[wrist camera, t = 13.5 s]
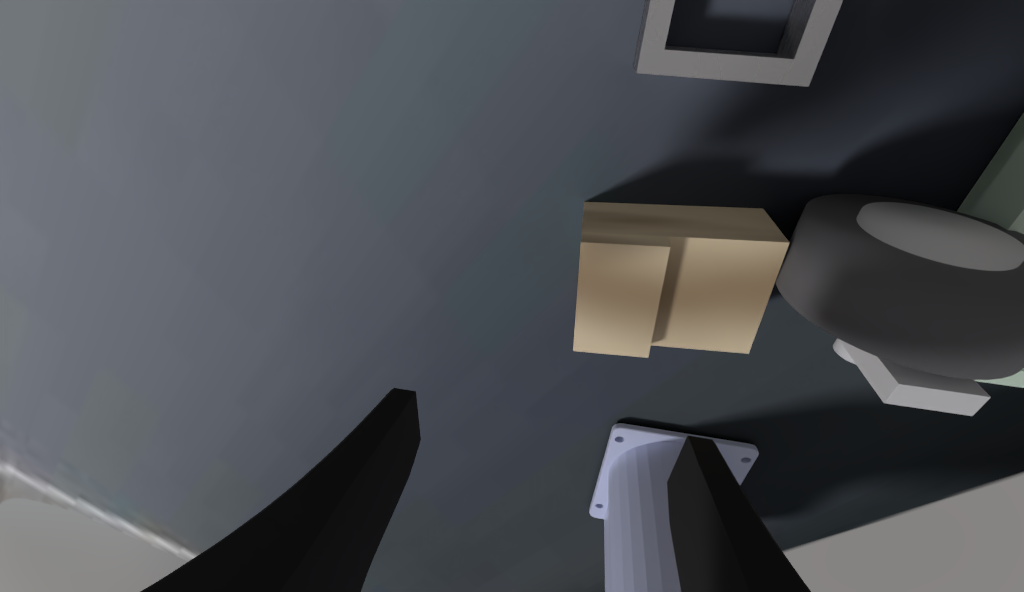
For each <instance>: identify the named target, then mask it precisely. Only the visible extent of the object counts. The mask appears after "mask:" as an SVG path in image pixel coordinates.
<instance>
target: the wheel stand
mask: <svg viewBox="0 0 1024 592" xmlns="http://www.w3.org/2000/svg"><path fill="white" fill-rule="evenodd" d="M789 242H790V243H789V246H788V249H787V251H786V254H785V257H784V259H783V262H782V265H781V268H780V270H779V273H778V276H777V278H776V281H775V283H776V286H777V288H778V290H779V292H780V293H781V294H782V296H783V297H784V299H785V300H786V301H787V302H788V303H789V304H790V305H791V306H792V307H793V308H794V309H795V310H796V311H798V312H799V313H800V314H801V315H802V316H804V317H805V318H806V319H808V320H809V321H810V322H812V323H813V324H815V325H816V326H818V327H819V328H821V329H823V330H824V331H826V332H827V333H829V334H831V335H833V336H835V337H836V338H837V340H836V341H835V343H834V344H833V348H834V350H835V352H836V353H837V354H838V355H839V356H841V357H842V358H844V359H845V360H847V361H849V362H851V363H854V364H856V365H857V366H858V368H859V369H860V370H861V372H862V373H863V375H864V376H865V377H866V379H867V380H868V382H869V383H870V384H871V386H872V387H873V389H874V390H875V392H876V393H877V394H878V396H879V397H880V399H881V400H882V401H883V403H886V404H893V405H900V406H907V407H913V408H920V409H927V410H934V411H941V412H947V413H954V414H961V415H968V416H973V415H974V414H975V413H976V412H977V411H978V410H979V409H980V408H981V407H982V406H983V405H984V404H985V403H986V402H987V401H988V400H989V399H990V398H991V397H990V396H989V395H988V394H987V393H986V392H985V391H984V390H983V389H982V388H981V387H980V386H979V384H978V383H977V382H976V381H975V380H992V379H1001V378H1005V377H1009V376H1012V375H1014V374H1016V373H1018V372H1020V371H1021V370H1022V369H1023V368H1024V234H1022V233H1020V232H1017V231H1011V230H1006V229H1005V228H1003V227H1001V226H999V225H998V224H995V223H993V222H990V221H987V220H984V219H981V218H977V217H974V216H971V215H967V214H964V213H960V212H957V211H953V210H949V209H946V208H941V207H937V206H933V205H929V204H924V203H920V202H915V201H909V200H904V199H898V198H892V197H884V196H876V195H865V194H832V195H825V196H820V197H817V198H814V199H812V200H810V201H809V202H808V203H807V204H806V206H805V208H804V210H803V213H802V215H801V217H800V219H799V221H798V223H797V226H796V228H795V230H794V232H793V234H792V236H791V239H790V241H789Z"/></svg>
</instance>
